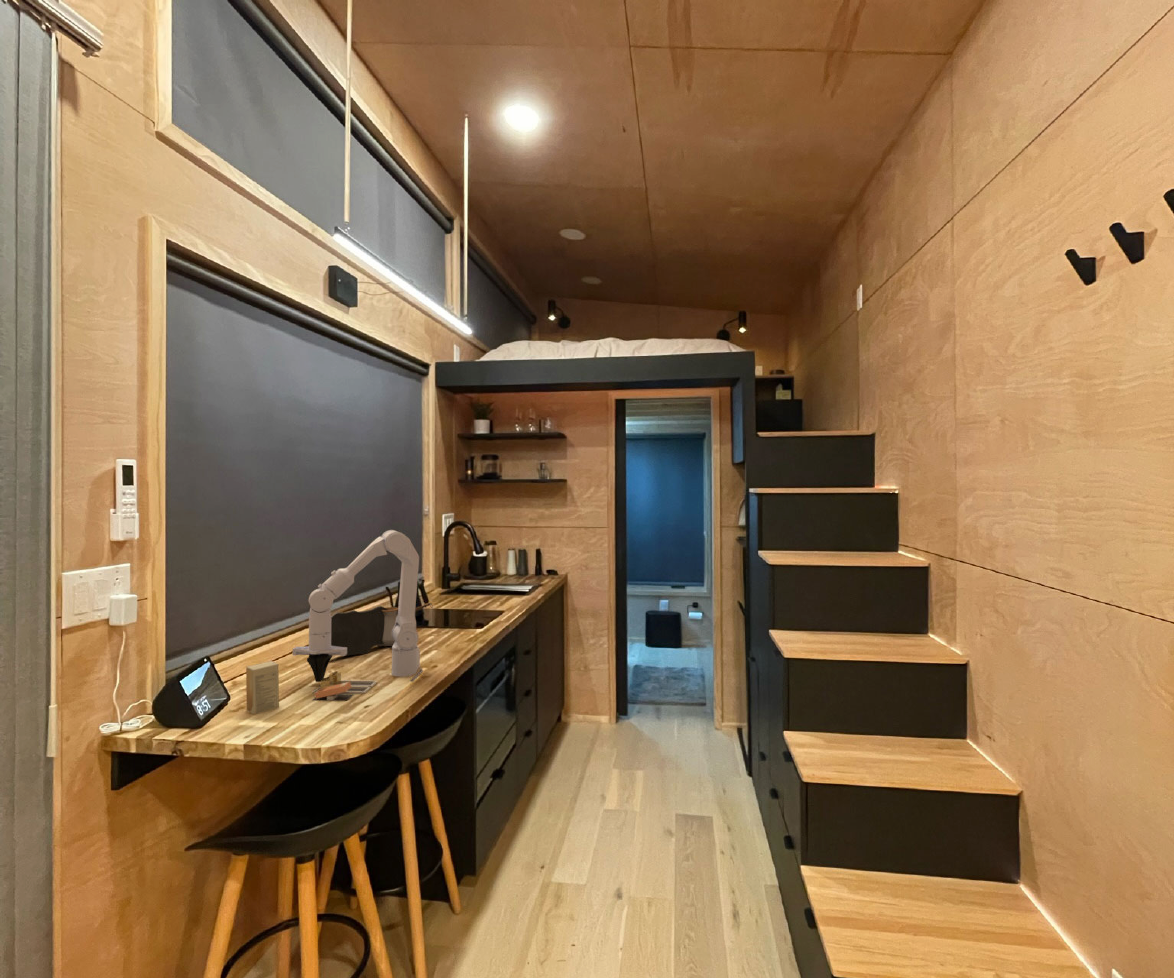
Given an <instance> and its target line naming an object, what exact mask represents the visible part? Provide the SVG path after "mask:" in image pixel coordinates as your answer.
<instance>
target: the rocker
mask: <svg viewBox="0 0 1174 978" xmlns="http://www.w3.org/2000/svg"><path fill="white" fill-rule="evenodd" d="M350 688H351V682H346V683H342V684H338V685H333V686H329V687H325V688H321V689H320V690H318V691H317V692H315V693H314V698H315V697H316V699H317V698H322V697H326V696H330V695H334V694H338V693H343V692H346V691H347V690H349V689H350Z"/></svg>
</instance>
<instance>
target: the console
mask: <svg viewBox="0 0 1174 978" xmlns="http://www.w3.org/2000/svg"><path fill="white" fill-rule="evenodd" d="M346 682H351V688H350V689H349V690H347V691H346V692H343V693H338V694H334V695H330V696H326V697H322V698H317V699H316V697H315V696H314V698H313V699H312V701H322V702H323V701H325V702H326V701H330V702H331V701H333V702H336V701H337V702H339V701H341V702H347V701H349V700H350V699H351V698H352V697H354V695H363V694H367V692H369V691H370V692H371V693H372V692H374V690H371V688H373V687H374V686H375V685H376V684H377V685H376V686H379V687H381V684H378V681H376V680H369V679H368V680H367V679H366V680H365V679H363V680H362V679H361V680H358V679H356V680H355V679H354V680H353V679H352V680H351V679H347V680H346V679H341V683H340V684H342V683H346ZM320 687H321V685H320V686H318V687H316V688H315V689H313V690H312V694H315V693H316V692H317V691H318V690H320Z"/></svg>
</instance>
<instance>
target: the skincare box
mask: <svg viewBox="0 0 1174 978" xmlns="http://www.w3.org/2000/svg"><path fill="white" fill-rule="evenodd" d="M245 670H246V672H245V673H246V674H245V675H246V685H245V686H246V692H245V693H246V711H247V712H248V713H250V714H252V715H257V714H260V713H263V712H268V711H270V710H274V709H277V708H280V696H279V695H280V684H279V679H280V678H279V677H280V676H279V673H280V671H279V663H277V662H275V661H273V660H270V661H265V662H262V663H261V662H260V663H256V664H253V665H248V666H246V667H245Z"/></svg>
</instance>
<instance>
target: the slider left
mask: <svg viewBox="0 0 1174 978" xmlns="http://www.w3.org/2000/svg"><path fill="white" fill-rule="evenodd" d="M328 677H330V678H333V685H338V684H340V683H341V680H342V672H338V671H337V670H335V671H334V672H331V673H330V674H328Z"/></svg>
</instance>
